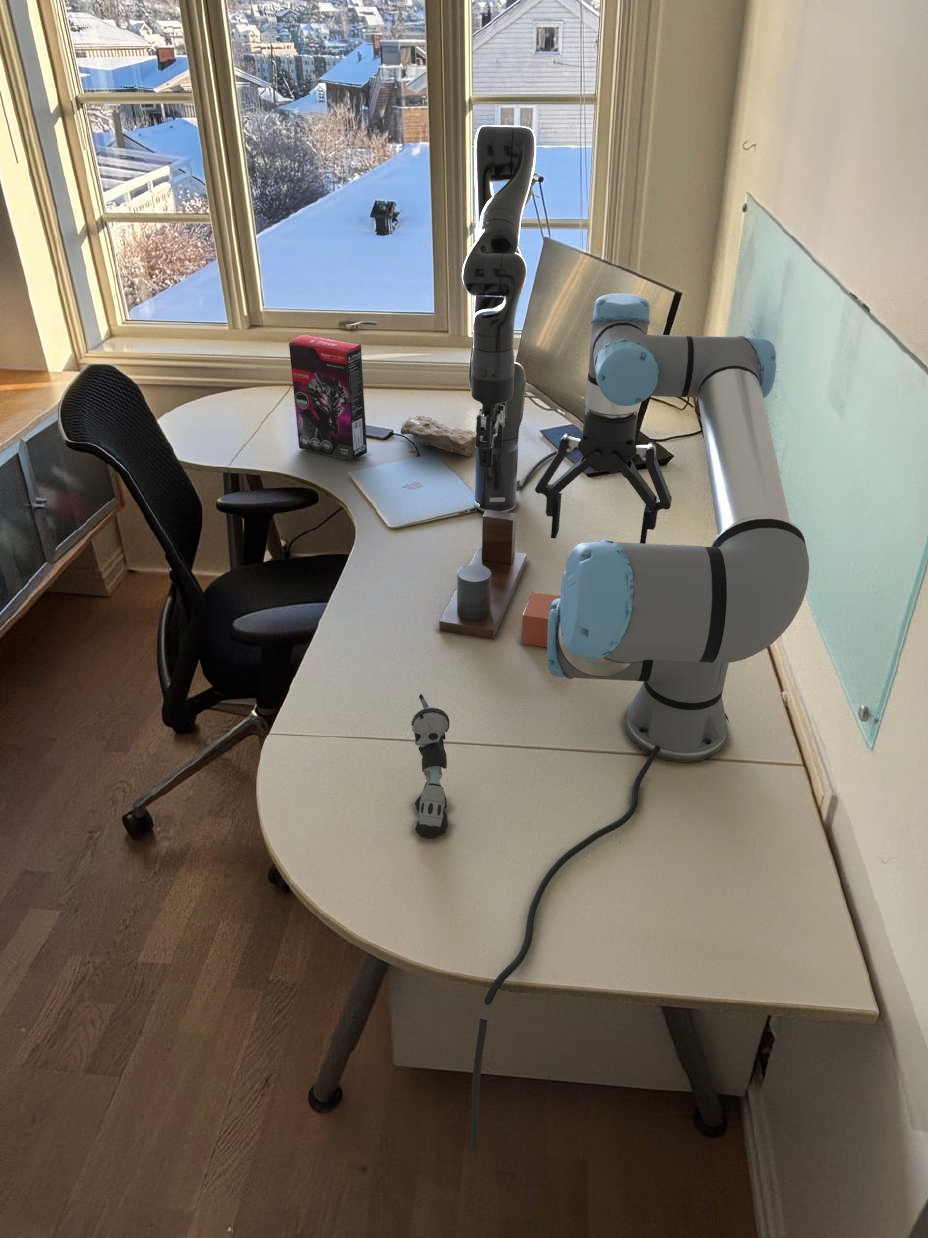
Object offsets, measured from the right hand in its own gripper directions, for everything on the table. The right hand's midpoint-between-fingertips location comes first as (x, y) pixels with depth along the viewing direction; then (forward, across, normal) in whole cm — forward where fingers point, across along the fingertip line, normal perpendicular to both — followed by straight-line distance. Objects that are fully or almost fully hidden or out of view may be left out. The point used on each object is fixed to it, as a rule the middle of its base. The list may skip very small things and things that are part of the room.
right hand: (598, 540), depth 143 cm
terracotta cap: (+25, +8, -8) cm, 27 cm away
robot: (+25, +15, +40) cm, 49 cm away
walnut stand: (+25, +22, -18) cm, 38 cm away
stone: (+25, +51, -83) cm, 100 cm away
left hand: (+1, +24, -29) cm, 37 cm away
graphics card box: (+25, +75, -72) cm, 107 cm away
